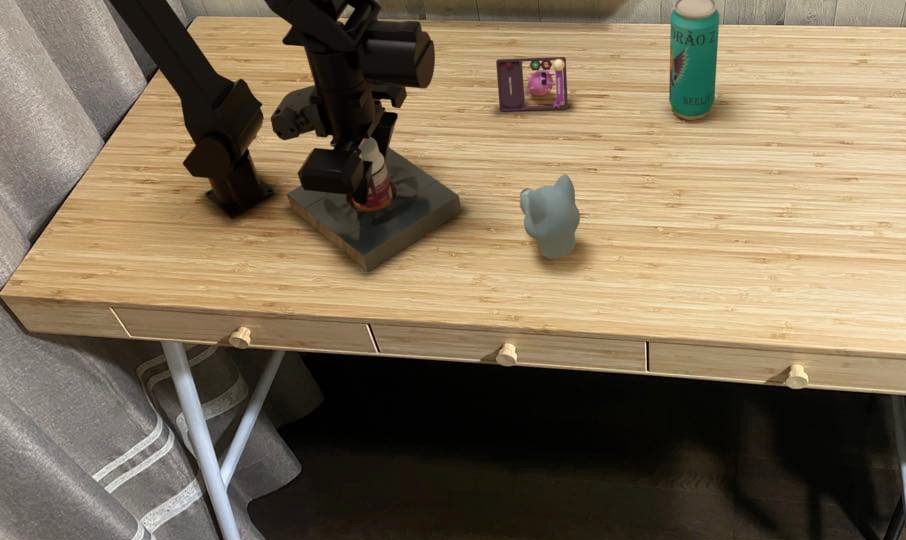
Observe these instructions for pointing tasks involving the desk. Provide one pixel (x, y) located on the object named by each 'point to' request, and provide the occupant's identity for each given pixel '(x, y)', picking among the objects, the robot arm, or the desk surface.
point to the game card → (530, 82)
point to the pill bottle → (375, 179)
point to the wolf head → (551, 217)
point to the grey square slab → (380, 213)
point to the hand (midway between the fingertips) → (369, 189)
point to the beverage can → (693, 57)
